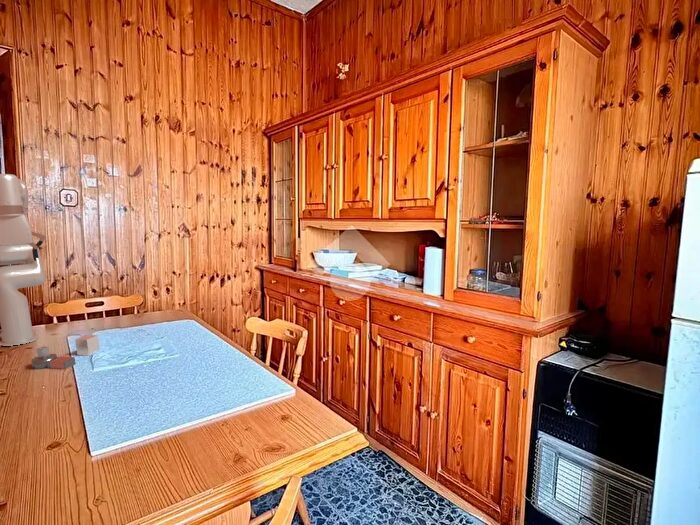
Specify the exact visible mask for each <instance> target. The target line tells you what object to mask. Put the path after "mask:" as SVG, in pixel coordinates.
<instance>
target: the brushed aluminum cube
mask: <svg viewBox="0 0 700 525" xmlns="http://www.w3.org/2000/svg"><path fill="white" fill-rule="evenodd" d="M74 341H75V348H76V354H77V356H86V357H87V356H88V357H89V356H92V355H93V354H92V353H93V352H94V351H97V350H99V349H100V350H101V347H100V342H99V335H95V334H93V335H92V334H85V335H83V336H81V337H78V338H76V339H75V340H74Z"/></svg>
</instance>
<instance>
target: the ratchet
mask: <svg viewBox="0 0 700 525" xmlns="http://www.w3.org/2000/svg"><path fill="white" fill-rule="evenodd" d="M35 350H36V355H37V356H35V357H33V358H32V359H30V362H31V366H32V367H31V368H32V369H33V370H43V369H53V370H54V369H55V370H56V369H57V370H66V369H68V368H71V367H74V366H76V364H77V363H76V358H75V356H61V355H60V356H57V355H58V354H57V353H51V351H50V347H49V346H41V347H38V348H36V349H35Z"/></svg>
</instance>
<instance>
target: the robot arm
mask: <svg viewBox="0 0 700 525" xmlns="http://www.w3.org/2000/svg"><path fill="white" fill-rule="evenodd" d="M28 213H29V188H28V186H27V184H26V183H25V181H24V180H23V179H21V178H18V176H16V175H15V174H12V173H0V327H1V332H0V338H1V341H0V345H3V346H11V347H14V346H13V345H18V346H21V345H20V344H23V345H26V343H27V344H30V343H33V342H35V341H37V340H38V339H39V336H38V334H34V332H33V327H32V320H31V319H32V318H31V314H30V307H29V301H28V298H27V296H26V295H24V293H22V292H20V291H19V290H20V289H23V288H24V289H25V288H31V287H38V286H42V285H44V284H45V282H46V280H47V276H46V270H45V267H44V263H43V259H42V254H41V252H40V249H39V248H40V247H41V245H42V244H43V243H44V241H45V239H46V235H44V234H41V233H38V232H34V231H32V228H31V224H30V221H29V217H28ZM33 236H34V237H35V238H36V237H37V238H39V239H38V241H37V242H35V241H34V239H33ZM29 342H30V343H29Z"/></svg>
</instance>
